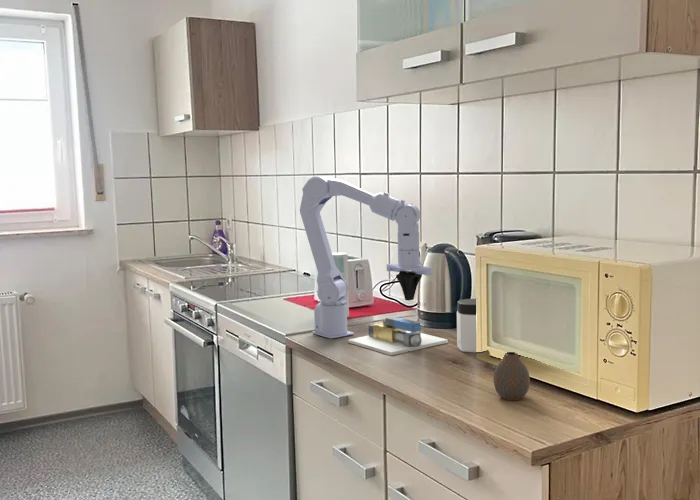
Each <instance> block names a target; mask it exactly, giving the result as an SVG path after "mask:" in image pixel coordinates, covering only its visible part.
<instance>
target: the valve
mask: <svg viewBox="0 0 700 500" xmlns="http://www.w3.org/2000/svg"><path fill="white" fill-rule="evenodd" d="M367 327H368V335H369V336H371V337H373V338H376V339H380V340H384V341H388V342H390V343H395V342H402V343H404V346H407V347H411V346H416V347H417V346H419V345H420V344H421V341H422V339H421V333H422V332H420V331H416V332H411V333H407V332H406V330H402V329H398V328H394V327H393V326H385V325H383V322H377V323H372V324H368V325H367Z"/></svg>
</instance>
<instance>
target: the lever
mask: <svg viewBox="0 0 700 500" xmlns="http://www.w3.org/2000/svg"><path fill="white" fill-rule="evenodd" d="M382 323H383V325H385V326H393V327H394V328H398V329H402V330H406V331H410V332H420V331H421V322H418V321H415V320H410V319H407V318H401V317H400V318H399V317H397V316H388V317H385V319H383V320H382Z"/></svg>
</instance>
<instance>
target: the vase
mask: <svg viewBox="0 0 700 500" xmlns="http://www.w3.org/2000/svg"><path fill="white" fill-rule="evenodd" d="M496 365H497V366H495V368H494V369H495V370H494V373H493V385H494V386H493V387H494V389H495V391H496V393H497V394H498V396H500V398H502V399H503V400H507V401H519V400H521V399H523V398H524V397H525V396H526V395H527V393H528V391H529V388H530V385H531V384H530V383H531V379H530V378H531V377H530V372H529V369H528V367H527V366H526V364H525V362H523V360H522V359H521V358H520V356H518V354H517V353H515V352H507V353H505V355H504V357H503V359H502V360H501V359H500V361H499V363H498V364H496Z"/></svg>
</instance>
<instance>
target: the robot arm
mask: <svg viewBox="0 0 700 500" xmlns="http://www.w3.org/2000/svg"><path fill="white" fill-rule="evenodd" d="M301 190H302V196H301V202H300V207H299V213H300V216H301V220H302V224H303V227H304V230H305V234H306V237H307V240H308V243H309V246H310V252H311V253H312V257H313V261H314V264H315V267H316V270H317V277H316V283H317V291H316V292H317V297H318V299H319V302H318V303H317V304H316V305H315V307H314V313H313V314H314V317H313V319H314V330H312V334H314V335H318V336H321V337H324V338H326V339H332V340H333V339H337V338H343V337H348V336H352V335H354V334H355V332H352V331H349V330H348V318H347V307H346V300H345V296H346V294H347V292H348V293H349V284H348V285H347V282H346V281H345V280H344V279H343V278H342V276H341V272H340V271H339V270H338V269H337V267H336V265H335V262H334V259H333V255H332V253H333V251H332V249H331V246H330V243H329V239H328V236H327V233H326V229H325V225H324V222H323V219H322V215H321V212H322V210H323V208H324V206H325V205H326V203H328V202H329V201H330V200H331V199H332V198H333V197H337V196H338V197H340V196H342V197H346V198H348V199H350V200H353V201H355V202H359V203H361V204H364V205H365V206H366V205H367V206H368V207H369V208H370V210H371V212H372V213H374V214H376V215H378V216H380V217H383V218H385V219H388V220H391V221H395V222H396V223H397V263H387V264H386V272H396V273H397V274H396V275H395V278H396V280H397V281H398V282H399V284H400V287H401V290H402V293H403V296H404V300H405V301H414V299H415V295H416V290H417V288H418V284H419V283H420V280H421V279H422V277H423V276H427V277H428V276H433V267H431V266H430V267H429V266H424V265H421V264H420V231H419V229H420V228H419V221H420V219H421V212H420V209H419V208H418V206H416V205H415V204H413V203H409V202H408V203H406V200H404V199H401V200H400V199H398V198H395V197H392V196H391V195H390V193H389V192H386V191H384V192H378V193H376V194H373V193H371V192H368V191H366V190H364V189H362V188H360V187H358V186H356V185H353V184H351V183H349V182H347V181H345V180H341V179H339V178H333V177H331V176H328V175H325V176H323V175H322V176H316V175H315V176H312V177H311V178H309V179H308V180H307V181H306V183H305V184H304V186H303V187H302V189H301Z"/></svg>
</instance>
